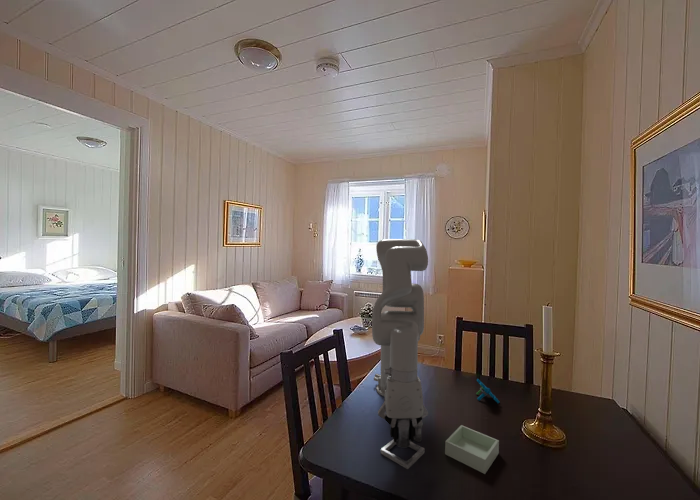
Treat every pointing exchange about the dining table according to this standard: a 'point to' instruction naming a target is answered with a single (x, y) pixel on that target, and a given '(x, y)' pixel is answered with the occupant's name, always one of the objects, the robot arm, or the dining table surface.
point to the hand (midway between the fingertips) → (402, 438)
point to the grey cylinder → (403, 432)
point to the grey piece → (414, 446)
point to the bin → (472, 448)
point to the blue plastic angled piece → (485, 392)
